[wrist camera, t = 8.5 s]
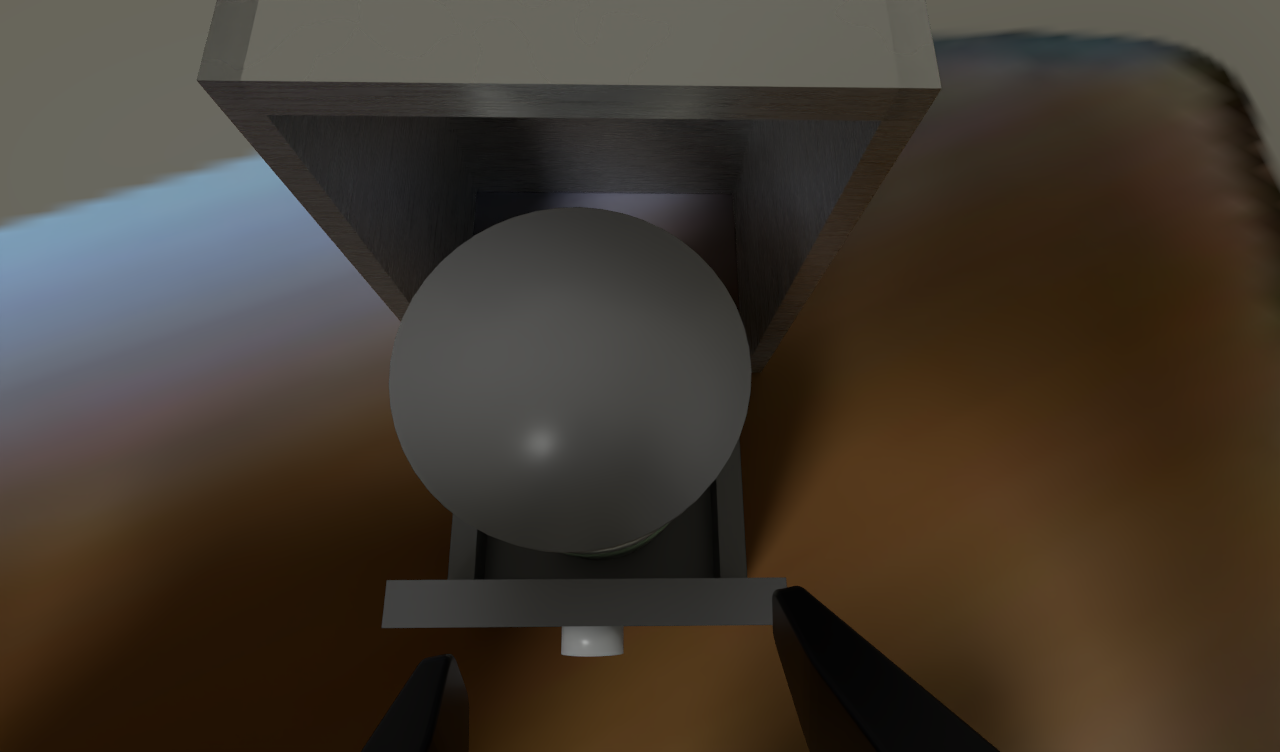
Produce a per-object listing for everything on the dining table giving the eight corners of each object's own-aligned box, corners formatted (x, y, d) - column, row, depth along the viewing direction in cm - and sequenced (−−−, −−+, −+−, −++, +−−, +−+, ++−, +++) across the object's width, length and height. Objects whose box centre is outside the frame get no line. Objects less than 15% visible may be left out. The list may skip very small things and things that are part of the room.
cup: (718, 510, 22) (820, 435, 10) (562, 600, 21) (483, 627, 10) (634, 364, 24) (642, 157, 12) (484, 442, 23) (334, 298, 11)
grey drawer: (745, 636, 22) (810, 663, 14) (452, 639, 22) (358, 667, 14) (731, 366, 25) (778, 269, 17) (473, 366, 25) (405, 267, 17)
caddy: (761, 372, 25) (941, 88, 11) (443, 372, 25) (196, 80, 10) (747, 179, 28) (878, -252, 13) (461, 177, 27) (284, -266, 13)
